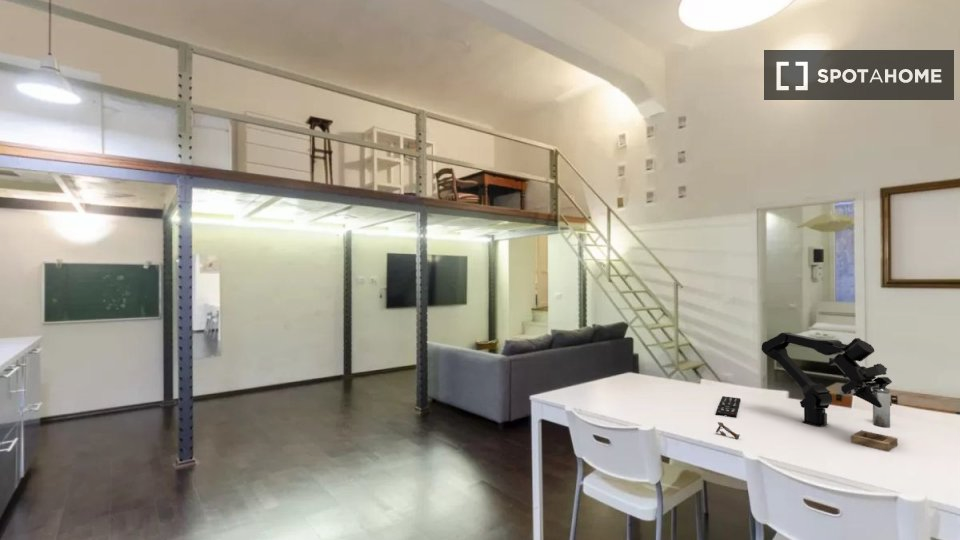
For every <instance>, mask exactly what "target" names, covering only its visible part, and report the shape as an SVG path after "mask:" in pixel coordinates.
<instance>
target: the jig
mask: <svg viewBox="0 0 960 540" xmlns="http://www.w3.org/2000/svg"><path fill="white" fill-rule="evenodd" d="M850 443H852V444H856V445H859V446H860V445H861V446H864V447H867V448H873V449H877V450H880V451H885V452H890V451H891V450H893V449H894V448H895V447H897V445H899V444H898V443H899V440H898V437H895V436H894V437H893V436H889V435H885V434H880V433H876V432H872V431H867V430H862V429H861V430H859V431H857V432H855V433H853V434H851V435H850Z"/></svg>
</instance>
